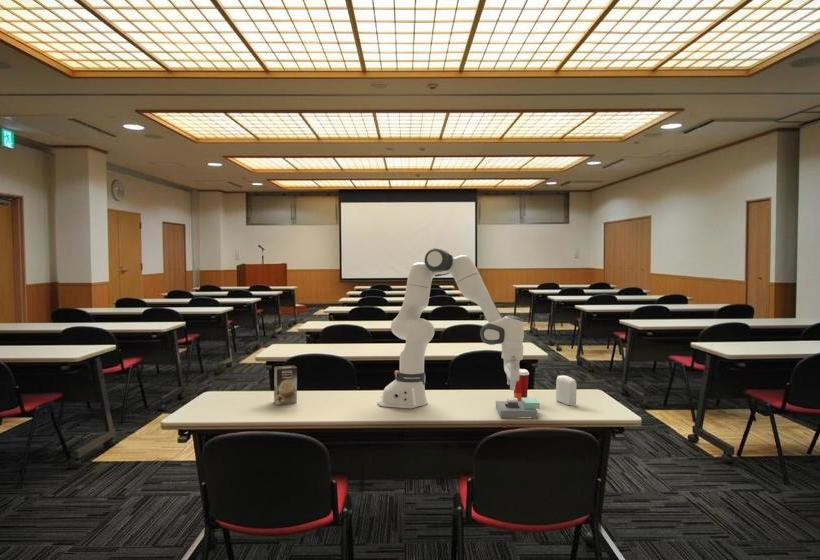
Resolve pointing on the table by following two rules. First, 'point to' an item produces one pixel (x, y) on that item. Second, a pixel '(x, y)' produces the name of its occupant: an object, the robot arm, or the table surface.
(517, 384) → the paper cup
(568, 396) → the book
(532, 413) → the socket
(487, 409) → the table surface
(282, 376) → the coffee box
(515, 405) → the plug
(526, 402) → the mint green block
